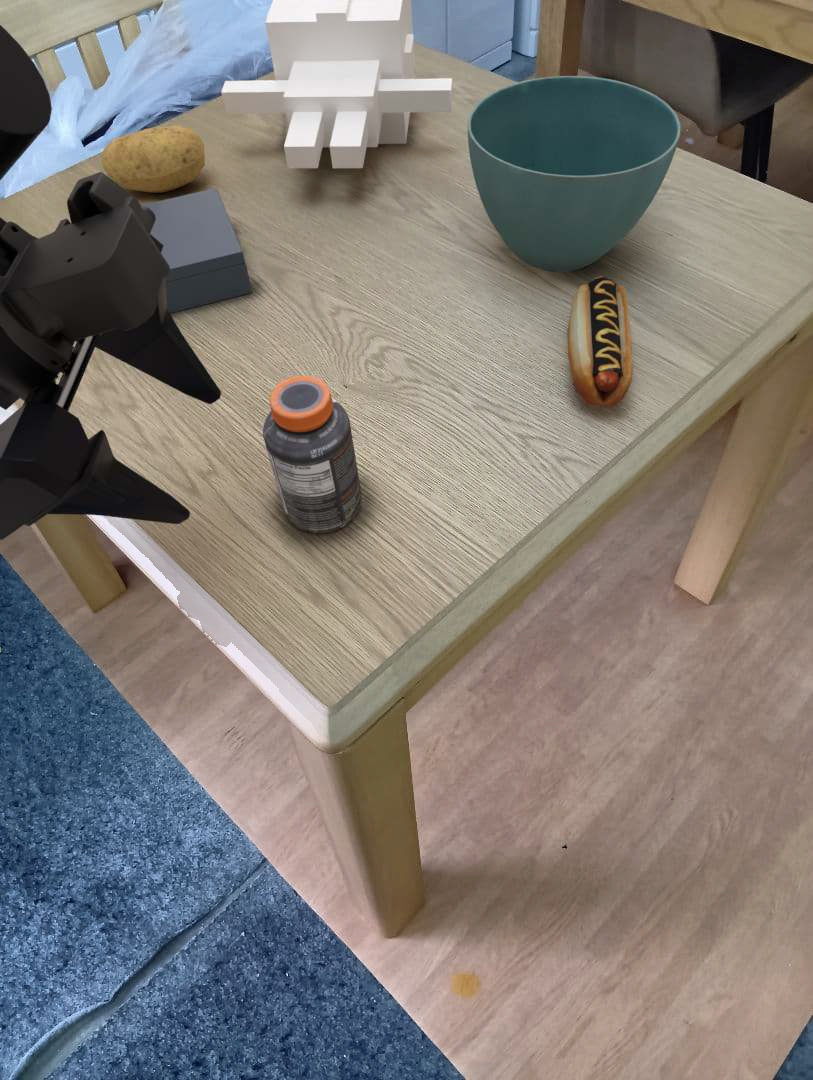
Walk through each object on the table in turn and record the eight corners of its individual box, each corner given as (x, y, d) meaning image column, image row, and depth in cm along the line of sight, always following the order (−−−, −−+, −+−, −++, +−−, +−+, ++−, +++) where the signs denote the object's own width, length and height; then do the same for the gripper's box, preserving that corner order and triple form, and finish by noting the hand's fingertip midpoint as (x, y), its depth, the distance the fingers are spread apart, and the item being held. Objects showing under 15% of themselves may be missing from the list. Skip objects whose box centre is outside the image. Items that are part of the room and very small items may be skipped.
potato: (209, 200, 86) (194, 143, 81) (108, 208, 86) (87, 151, 81) (214, 168, 90) (200, 112, 85) (118, 175, 90) (98, 120, 85)
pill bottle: (327, 463, 62) (305, 350, 53) (378, 503, 60) (365, 391, 50) (268, 506, 60) (235, 395, 51) (318, 549, 57) (293, 441, 48)
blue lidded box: (107, 329, 74) (89, 288, 70) (93, 260, 80) (76, 219, 77) (252, 292, 76) (242, 251, 72) (226, 228, 83) (216, 187, 79)
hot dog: (565, 420, 64) (572, 373, 60) (563, 316, 72) (570, 268, 68) (627, 423, 63) (639, 376, 59) (619, 318, 71) (629, 270, 67)
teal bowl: (519, 181, 86) (528, 59, 76) (680, 226, 79) (712, 99, 69) (431, 268, 77) (428, 143, 67) (604, 327, 70) (628, 198, 61)
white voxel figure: (222, 220, 87) (265, 83, 102) (446, 221, 85) (458, 81, 100) (183, 84, 75) (239, -50, 89) (445, 81, 72) (458, -55, 87)
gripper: (-74, 305, 26) (276, 536, 35) (87, 55, 37) (320, 282, 46) (-200, 446, 32) (129, 611, 41) (-29, 193, 43) (199, 370, 52)
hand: (201, 455), depth 45 cm, fingers open, 9 cm apart
